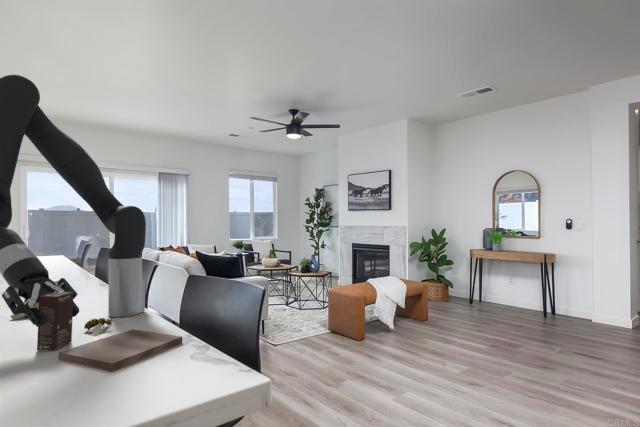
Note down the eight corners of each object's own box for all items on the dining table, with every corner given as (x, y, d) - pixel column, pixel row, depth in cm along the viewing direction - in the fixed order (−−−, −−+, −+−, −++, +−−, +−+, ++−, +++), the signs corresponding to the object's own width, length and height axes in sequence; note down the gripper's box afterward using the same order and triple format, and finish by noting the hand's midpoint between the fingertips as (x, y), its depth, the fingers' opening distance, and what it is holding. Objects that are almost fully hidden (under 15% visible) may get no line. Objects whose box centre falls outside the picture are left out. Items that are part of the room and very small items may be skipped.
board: (132, 335, 94) (132, 329, 94) (182, 343, 88) (182, 336, 88) (58, 359, 78) (58, 352, 78) (112, 371, 71) (112, 363, 71)
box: (57, 350, 83) (57, 296, 83) (36, 351, 83) (36, 296, 83) (74, 342, 89) (74, 291, 89) (54, 342, 89) (55, 291, 89)
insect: (89, 319, 103) (97, 302, 103) (111, 326, 105) (119, 310, 105) (75, 338, 93) (84, 320, 93) (100, 345, 94) (109, 327, 94)
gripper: (-3, 259, 81) (39, 315, 78) (57, 253, 95) (95, 301, 92) (-22, 283, 82) (18, 339, 79) (40, 274, 96) (77, 322, 93)
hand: (59, 319), depth 86 cm, fingers open, 8 cm apart
